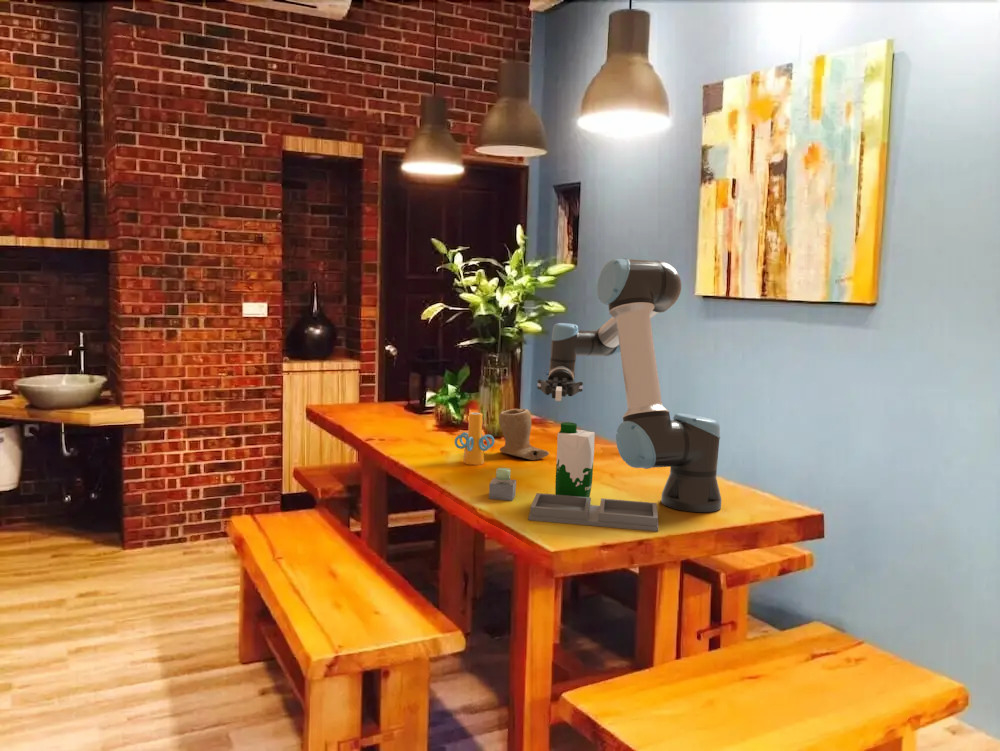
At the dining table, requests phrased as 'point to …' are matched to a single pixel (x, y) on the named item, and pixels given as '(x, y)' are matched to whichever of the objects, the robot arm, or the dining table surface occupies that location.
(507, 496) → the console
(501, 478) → the button
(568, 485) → the soya milk
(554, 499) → the pocket tray
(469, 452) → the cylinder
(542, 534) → the dining table surface
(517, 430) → the brown boot
